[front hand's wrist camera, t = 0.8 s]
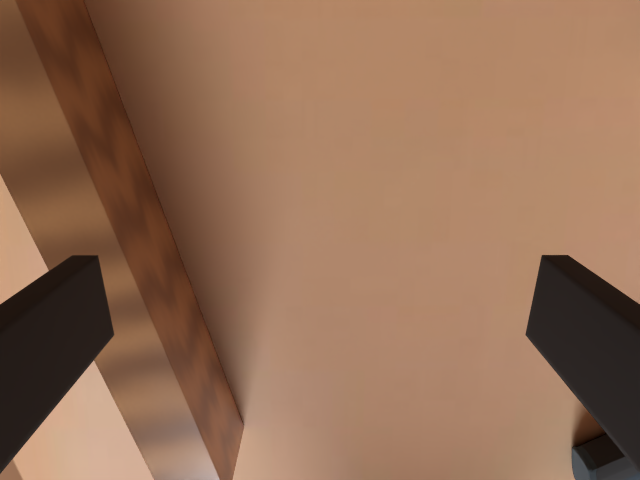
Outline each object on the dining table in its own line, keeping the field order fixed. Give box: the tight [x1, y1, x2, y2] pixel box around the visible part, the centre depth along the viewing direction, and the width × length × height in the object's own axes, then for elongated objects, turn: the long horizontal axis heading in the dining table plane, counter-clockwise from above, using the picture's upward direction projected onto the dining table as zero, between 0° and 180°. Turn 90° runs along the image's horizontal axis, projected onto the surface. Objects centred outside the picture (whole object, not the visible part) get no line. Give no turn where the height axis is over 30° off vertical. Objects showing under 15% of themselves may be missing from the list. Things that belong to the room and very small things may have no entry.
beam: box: [0, 0, 244, 480], centre depth 31 cm, size 50×5×8 cm, turn 13°
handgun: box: [572, 434, 640, 480], centre depth 40 cm, size 3×18×12 cm
